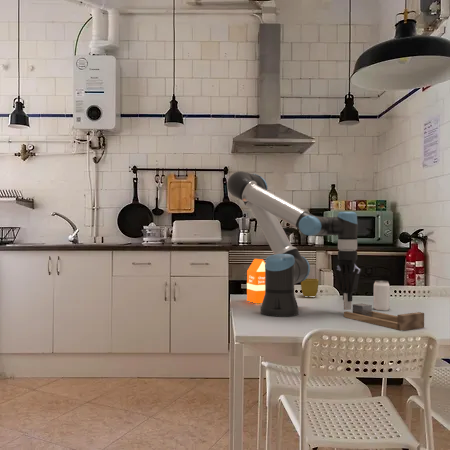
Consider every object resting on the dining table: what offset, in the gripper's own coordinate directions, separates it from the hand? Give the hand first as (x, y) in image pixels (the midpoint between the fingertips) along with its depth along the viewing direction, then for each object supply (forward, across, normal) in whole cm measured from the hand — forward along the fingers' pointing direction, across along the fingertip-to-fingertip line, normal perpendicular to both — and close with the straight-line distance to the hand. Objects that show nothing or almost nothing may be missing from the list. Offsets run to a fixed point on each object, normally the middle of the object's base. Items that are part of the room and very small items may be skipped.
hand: (347, 309), depth 180 cm
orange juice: (+2, +41, +15) cm, 44 cm away
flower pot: (+2, +43, -17) cm, 47 cm away
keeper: (+2, -8, 0) cm, 8 cm away
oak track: (+2, -17, 0) cm, 17 cm away
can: (+2, +1, -21) cm, 21 cm away
